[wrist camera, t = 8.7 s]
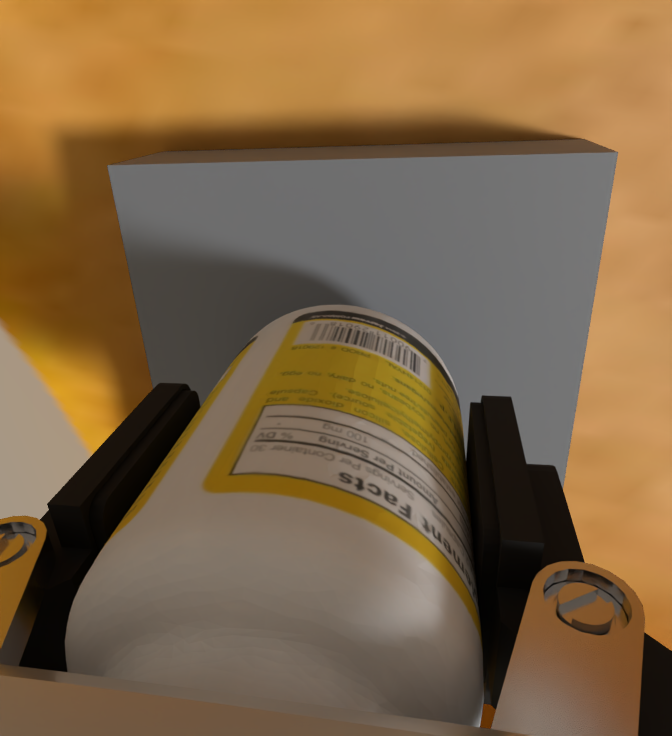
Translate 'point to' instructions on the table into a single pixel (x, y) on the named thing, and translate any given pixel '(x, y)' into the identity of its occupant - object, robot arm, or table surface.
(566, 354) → the slate base block
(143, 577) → the supplement bottle
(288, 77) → the table surface
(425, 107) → the table surface
